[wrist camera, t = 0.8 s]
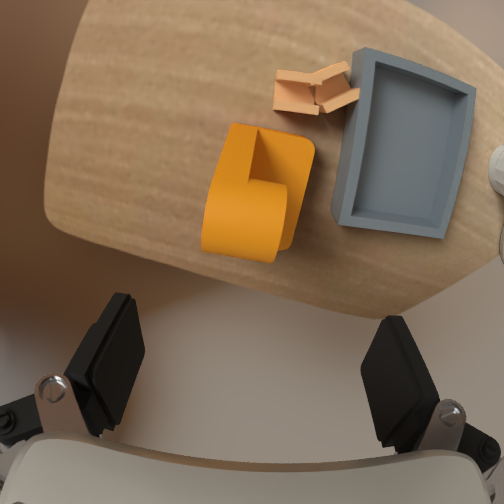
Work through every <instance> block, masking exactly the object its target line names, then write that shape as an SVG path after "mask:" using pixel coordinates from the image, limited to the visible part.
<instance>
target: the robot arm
mask: <svg viewBox="0 0 504 504" xmlns="http://www.w3.org/2000/svg"><path fill="white" fill-rule="evenodd" d="M500 256H501V259H502V262H503V264H504V226H503V230H502V234H501V239H500ZM144 354H145V347H144V342H143V338H142V333H141V328H140V322H139V317H138V312H137V306H136V301H135V299H132V298H131V296H130V294H123V293H115V294H114V295H113V296H112V298H111V300H110V301H109V303H108V304H107V306H106V308H105V309H104V311H103V313H102V314H101V316H100V317H99V319H98V321H97V322H96V323H94V324H92V326H91V327H90V329H89V330H88V332H87V333H86V335H85V337H84V338H83V340H82V342H81V344H80V345H79V347H78V349H77V351H76V352H75V354H74V356H73V358H72V360H71V361H70V363H69V365H68V367H67V369H66V370H65V372H64V374H63V375H62V374H59V373H50V374H47V375H45V376H43V377H42V378H40V380H39V381H38V382H37V383H36V386H35V389H34V394H32V395H29V396H26V397H24V398H21V399H19V400H16V401H13V402H11V403H8V404H5V405H3V406H0V504H504V457H502V458H501V457H500V455H501V450H500V447H499V444H498V443H497V441H496V440H495V439H493V438H492V437H490V436H488V435H487V434H485V433H483V432H482V431H480V430H478V429H476V428H475V427H473V426H471V425H469V424H468V423H466V413H465V411H464V409H463V407H462V406H461V405H460V404H459V403H457V402H456V401H454V400H451V399H445V400H442V401H440V399H439V395H438V392H437V390H436V387H435V385H434V383H433V380H432V378H431V376H430V374H429V371H428V369H427V367H426V364H425V362H424V360H423V358H422V356H421V354H420V352H419V350H418V347H417V345H416V343H415V341H414V339H413V337H412V335H411V333H410V331H409V329H408V327H407V325H406V323H405V321H404V319H403V317H402V316H387V317H386V318H385V319H383V320H382V321H381V323H380V325H379V328H378V330H377V332H376V335H375V337H374V339H373V341H372V343H371V345H370V348H369V350H368V352H367V354H366V356H365V358H364V360H363V362H362V365H361V376H362V379H363V383H364V387H365V391H366V394H367V398H368V402H369V406H370V410H371V414H372V418H373V422H374V426H375V431H376V435H377V439H378V440H379V441H381V443H382V447H383V448H385V447H391V446H394V447H395V453H394V455H390V456H383V457H376V458H367V459H359V460H350V461H338V462H323V463H300V464H299V463H297V464H296V463H295V464H294V463H293V464H279V463H250V462H234V461H223V460H214V459H205V458H197V457H190V456H184V455H177V454H172V453H166V452H161V451H156V450H151V449H146V448H141V447H137V446H132V445H128V444H124V443H120V442H116V441H112V440H108V439H103V438H102V437H101V435H100V434H102V433H103V430H104V428H105V429H108V430H111V431H113V430H114V428H115V425H119V424H120V422H121V419H122V416H123V413H124V411H125V408H126V405H127V402H128V399H129V396H130V393H131V390H132V387H133V385H134V382H135V379H136V376H137V374H138V371H139V368H140V366H141V363H142V360H143V358H144Z"/></svg>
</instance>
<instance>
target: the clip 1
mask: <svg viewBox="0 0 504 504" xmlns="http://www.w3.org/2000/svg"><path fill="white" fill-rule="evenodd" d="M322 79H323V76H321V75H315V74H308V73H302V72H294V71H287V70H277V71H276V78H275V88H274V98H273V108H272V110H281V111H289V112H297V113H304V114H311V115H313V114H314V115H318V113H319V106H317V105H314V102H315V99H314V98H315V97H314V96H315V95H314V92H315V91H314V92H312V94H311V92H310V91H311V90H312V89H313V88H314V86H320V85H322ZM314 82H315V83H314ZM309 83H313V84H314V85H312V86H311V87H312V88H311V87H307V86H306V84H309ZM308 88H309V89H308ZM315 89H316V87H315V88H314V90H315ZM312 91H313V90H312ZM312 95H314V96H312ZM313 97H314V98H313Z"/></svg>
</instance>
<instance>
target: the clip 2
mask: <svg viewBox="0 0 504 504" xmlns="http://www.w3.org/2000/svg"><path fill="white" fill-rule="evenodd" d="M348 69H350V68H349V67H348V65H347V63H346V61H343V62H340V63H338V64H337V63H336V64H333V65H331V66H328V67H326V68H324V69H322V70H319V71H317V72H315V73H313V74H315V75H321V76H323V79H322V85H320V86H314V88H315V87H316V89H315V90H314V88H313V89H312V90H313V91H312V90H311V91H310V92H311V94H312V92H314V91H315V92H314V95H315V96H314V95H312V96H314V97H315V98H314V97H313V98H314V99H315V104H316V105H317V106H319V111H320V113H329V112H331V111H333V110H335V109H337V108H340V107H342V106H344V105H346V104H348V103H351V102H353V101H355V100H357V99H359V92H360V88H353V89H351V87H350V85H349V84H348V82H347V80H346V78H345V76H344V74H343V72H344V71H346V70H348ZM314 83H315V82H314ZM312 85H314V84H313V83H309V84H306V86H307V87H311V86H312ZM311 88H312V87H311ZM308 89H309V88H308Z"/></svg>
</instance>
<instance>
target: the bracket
mask: <svg viewBox="0 0 504 504" xmlns="http://www.w3.org/2000/svg"><path fill="white" fill-rule="evenodd" d="M314 153H315V148H314V145H313V143H312V142H311V141H310V140H309V139H308V138H306V137H304V136H300V135H296V134H291V133H287V132H282V131H277V130H272V129H267V128H261V127H256V126H250V125H244V124H238V123H233V124H232V125H231V128H230V130H229V133H228V136H227V139H226V142H225V144H224V147H223V150H222V153H221V156H220V159H219V162H218V164H217V167H216V170H215V173H214V176H213V179H212V182H211V186H210V190H209V194H208V198H207V203H206V208H205V214H204V220H203V227H202V237H201V250H202V252H208V253H214V254H219V255H225V256H231V257H236V258H242V259H248V260H254V261H259V262H265V263H273V261H274V259H275V256H276V254H277V250H280V251H281V250H286V249H287V248H289V247H290V245H291V243H292V240H293V236H294V232H295V228H296V224H297V221H298V217H299V213H300V209H301V205H302V201H303V197H304V193H305V190H306V186H307V182H308V178H309V174H310V169H311V165H312V161H313V157H314Z"/></svg>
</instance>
